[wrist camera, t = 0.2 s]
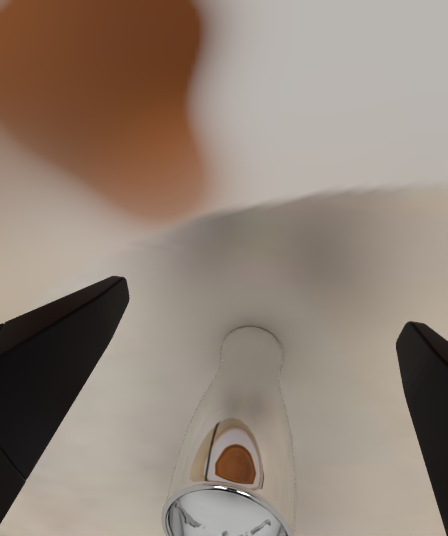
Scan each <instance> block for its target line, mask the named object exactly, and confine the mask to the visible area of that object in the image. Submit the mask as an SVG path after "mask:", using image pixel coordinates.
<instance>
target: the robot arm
mask: <svg viewBox="0 0 448 536" xmlns="http://www.w3.org/2000/svg"><path fill="white" fill-rule="evenodd" d="M128 303H129V291H128V286H127V281H126V279H125V278H124V277H119V276H111V277H109V278H107V279H104V280H102V281H100V282H97V283H95V284H93V285H90V286H88V287H86V288H83V289H81V290H79V291H77V292H74V293H72V294H70V295H67V296H65V297H63V298H60V299H58V300H56V301H53V302H51V303H49V304H46V305H44V306H42V307H39V308H37V309H35V310H32V311H30V312H28V313H25V314H23V315H21V316H18V317H16V318H14V319H12V320H9V321H7V322H5V324H0V523H1V522H2V520H3V518H4V517H5V515H6V514H7V512H8V510H9V509H10V507H11V505H12V504H13V502H14V500H15V499H16V497H17V495H18V494H19V492H20V490H21V489H22V487H23V485H24V484H25V482H26V479H27V478H28V477H29V475H30V473H31V472H32V470H33V468H34V467H35V465H36V464H37V462H38V460H39V459H40V457H41V455H42V454H43V452H44V450H45V449H46V447H47V445H48V444H49V442H50V440H51V439H52V437H53V435H54V434H55V432H56V430H57V429H58V427H59V426H60V424H61V422H62V421H63V419H64V417H65V416H66V414H67V412H68V411H69V409H70V407H71V406H72V404H73V402H74V401H75V399H76V397H77V396H78V394H79V392H80V391H81V389H82V387H83V386H84V384H85V383H86V381H87V379H88V378H89V376H90V374H91V373H92V371H93V369H94V368H95V366H96V364H97V363H98V361H99V359H100V358H101V356H102V354H103V353H104V351H105V349H106V348H107V346H108V344H109V343H110V341H111V339H112V337H113V335H114V333H115V331H116V329H117V327H118V324H119V322H120V320H121V318H122V316H123V314H124V311H125V309H126V307H127V305H128ZM396 350H397V356H398V361H399V367H400V373H401V378H402V384H403V389H404V394H405V398H406V402H407V405H408V408H409V412H410V415H411V418H412V422H413V425H414V428H415V432H416V435H417V438H418V442H419V445H420V448H421V452H422V455H423V458H424V461H425V465H426V468H427V471H428V475H429V478H430V481H431V485H432V488H433V491H434V495H435V498H436V501H437V505H438V508H439V511H440V515H441V518H442V521H443V525H444V528H445V531H446V535H447V536H448V341H447V340H445V339H444V338H443V337H441V336H440V335H439V334H438V333H436V332H435V331H434V330H432V329H431V328H430V327H428V326H427V325H426V324H424V323H419V322H412V321H409V322H407V323H406V324H405V326H404V328H403V330H402V332H401V333H400V335H399V337H398V339H397V342H396Z"/></svg>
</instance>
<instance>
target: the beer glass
mask: <svg viewBox="0 0 448 536" xmlns="http://www.w3.org/2000/svg"><path fill="white" fill-rule="evenodd" d="M282 363H283V351H282V348H281V345H280V343H279V342H278V340H277V339H276V338H275V337H274V336H273V335H272V334H270V333H269V332H267V331H265V330H263V329H261V328H257V327H242V328H238V329H236V330H234V331H232V332H231V333H229V334H228V335H227V336H226V338H225V339H224V341H223V343H222V346H221V352H220V367H219V369H218V372H217V374H216V375H215V377H214V379H213V381H212V382H211V384H210V385H209V387H208V389H207V390H206V392H205V394H204V395H203V397H202V399H201V400H200V402H199V404H198V406H197V408H196V410H195V412H194V414H193V416H192V418H191V420H190V423H189V425H188V428H187V430H186V433H185V436H184V439H183V442H182V445H181V448H180V451H179V454H178V458H177V461H176V465H175V469H174V472H173V476H172V480H171V484H170V488H169V492H168V495H167V499H166V502H165V505H164V507H163V511H162V526H163V529H164V532H165V534H166V536H295V488H296V483H295V458H294V448H293V438H292V433H291V428H290V423H289V418H288V414H287V411H286V407H285V403H284V399H283V396H282V392H281V388H280V383H279V373H280V370H281V367H282Z"/></svg>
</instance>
